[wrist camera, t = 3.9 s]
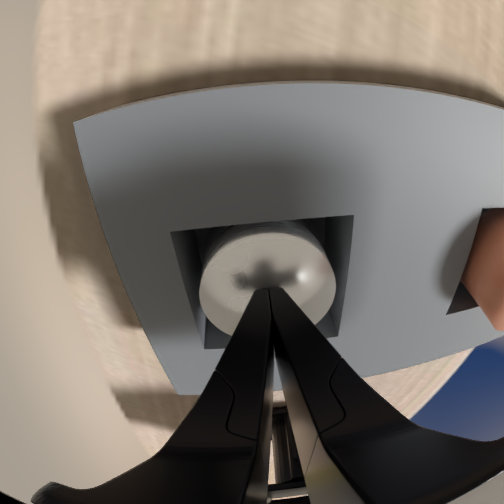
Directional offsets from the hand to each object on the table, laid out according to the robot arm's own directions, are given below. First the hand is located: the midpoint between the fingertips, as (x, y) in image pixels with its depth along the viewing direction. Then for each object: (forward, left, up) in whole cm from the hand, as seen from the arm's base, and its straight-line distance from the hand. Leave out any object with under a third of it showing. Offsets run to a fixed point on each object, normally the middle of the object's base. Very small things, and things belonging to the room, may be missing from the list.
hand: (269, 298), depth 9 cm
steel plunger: (0, 0, -3) cm, 3 cm away
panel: (0, -5, -4) cm, 7 cm away
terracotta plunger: (0, -10, -1) cm, 10 cm away
